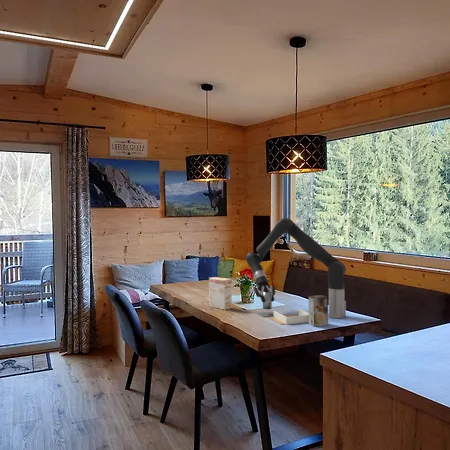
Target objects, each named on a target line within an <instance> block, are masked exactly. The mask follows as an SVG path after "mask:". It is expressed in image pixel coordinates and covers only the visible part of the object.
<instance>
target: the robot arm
mask: <svg viewBox="0 0 450 450" xmlns="http://www.w3.org/2000/svg"><path fill="white" fill-rule="evenodd" d="M285 233H286V234H288V235H289V236H290V237H292V238H293V239H294V241H296V243H297V245H298V246H299V247H300V249H302V251H303V252H305V253H306V254H307V255H308V256H309V257H311V258H313V259H315V260H316V261H318V262H320V263H322V265H324V266H325V267H327V284H328V318H333V319H344V318H346V317H347V301H346V300H345V287H346V286H345V283H344V275H345V273H346V271H347V269H346V266H345V264H344V263H343V261H340V260H339V259H338V258H336V257H334V256H333V255H332V254H331V253H330V252H328V251H327V250H326V249H325V248H324V247H323V246H321V245H320V244H319V242H317V241H316V240H315V239H314V238H312V237H311V236H310V235H309V234H307V233H306V232H305V231H303V230H302V229H301V228H299V226H298V225H297V224H296V223H295V222H294V221H293V220H292V219H291V218H288V217H287V218H285V217H284V218H281V219H279V220H278V221H277V222H276V224H275V225H274V227H273V229H272V230H271V231H270V232H269V233H268V235H267V236H266V238H265V239H264V240H263V241H262V242H261V243H260V244H259V245H258V246H257V247H256V249H255V250H256V252H257V254H256V253H254V252H248V253H247V254H246V256H245V260H246V263H247V265H248V267H250V270H251V272H252V275H253V278H254V280H255V284H256V286H254V288H253V292H254V293H255V296H256V297H257V298H260V300H261V302H262V303H263V302H265V299H264V296H263V292H265V291H269V292H272V303H273V302H274V301H275V295H276V289H275V286H274V285H272V286H271V285H270V283H269V280H268V277H267V275H266V272H265V271H264V268H263V266H262V264H261V263H262V261H263V259H264V258H265V256H266V254H267V253H268V252H269V251H270V250H271V249H272V247H273V246H274V244H275V243H276V241H278V239H279V238H280V237H282V236H283V235H284V234H285Z"/></svg>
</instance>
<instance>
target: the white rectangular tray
mask: <svg viewBox="0 0 450 450" xmlns="http://www.w3.org/2000/svg"><path fill="white" fill-rule="evenodd" d="M273 313H274V316H272V317H268V319H270V320H272V321H274V322H276V323H278V324H280V325H293V324H300V323H302V324H303V323H309V311H308V312H307V311H305V310H303V309H301V308H297V313H293V314H281V313H279V312H277V311H275V310H273Z"/></svg>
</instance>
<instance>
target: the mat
mask: <svg viewBox="0 0 450 450" xmlns="http://www.w3.org/2000/svg"><path fill="white" fill-rule="evenodd" d="M256 314H257V315H259V316H260V317H262V318H269V317H273V316H274V311H262V312H256Z"/></svg>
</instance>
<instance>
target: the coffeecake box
mask: <svg viewBox="0 0 450 450" xmlns="http://www.w3.org/2000/svg"><path fill="white" fill-rule="evenodd" d="M232 285H233V284H232V278H225V277H219V276H213V277H208V294H209V295H208V296H209V297H208V302H209V303H208V306H210V308H214V307H215V308H214V309H218V308H219V310H223V309H224V310H223V311H225V310H231V309H232V306H233V305H232V302H233V301H232V290H233V289H232ZM230 308H231V309H230Z"/></svg>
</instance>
